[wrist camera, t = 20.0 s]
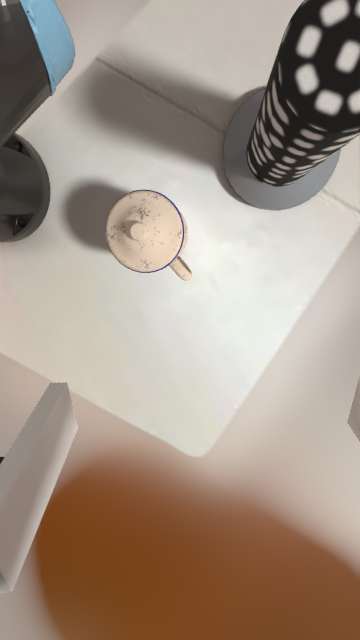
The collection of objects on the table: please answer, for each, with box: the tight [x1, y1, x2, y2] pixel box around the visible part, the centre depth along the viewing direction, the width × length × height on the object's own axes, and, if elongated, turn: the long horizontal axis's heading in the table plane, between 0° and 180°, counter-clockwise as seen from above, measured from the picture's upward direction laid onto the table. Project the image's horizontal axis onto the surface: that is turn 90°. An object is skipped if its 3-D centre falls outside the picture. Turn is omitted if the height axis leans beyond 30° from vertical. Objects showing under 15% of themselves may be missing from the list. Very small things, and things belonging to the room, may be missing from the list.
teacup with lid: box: [106, 190, 192, 281], centre depth 38 cm, size 12×9×12 cm
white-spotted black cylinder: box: [246, 0, 360, 187], centre depth 29 cm, size 8×8×20 cm
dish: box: [223, 88, 341, 210], centre depth 39 cm, size 14×14×2 cm
